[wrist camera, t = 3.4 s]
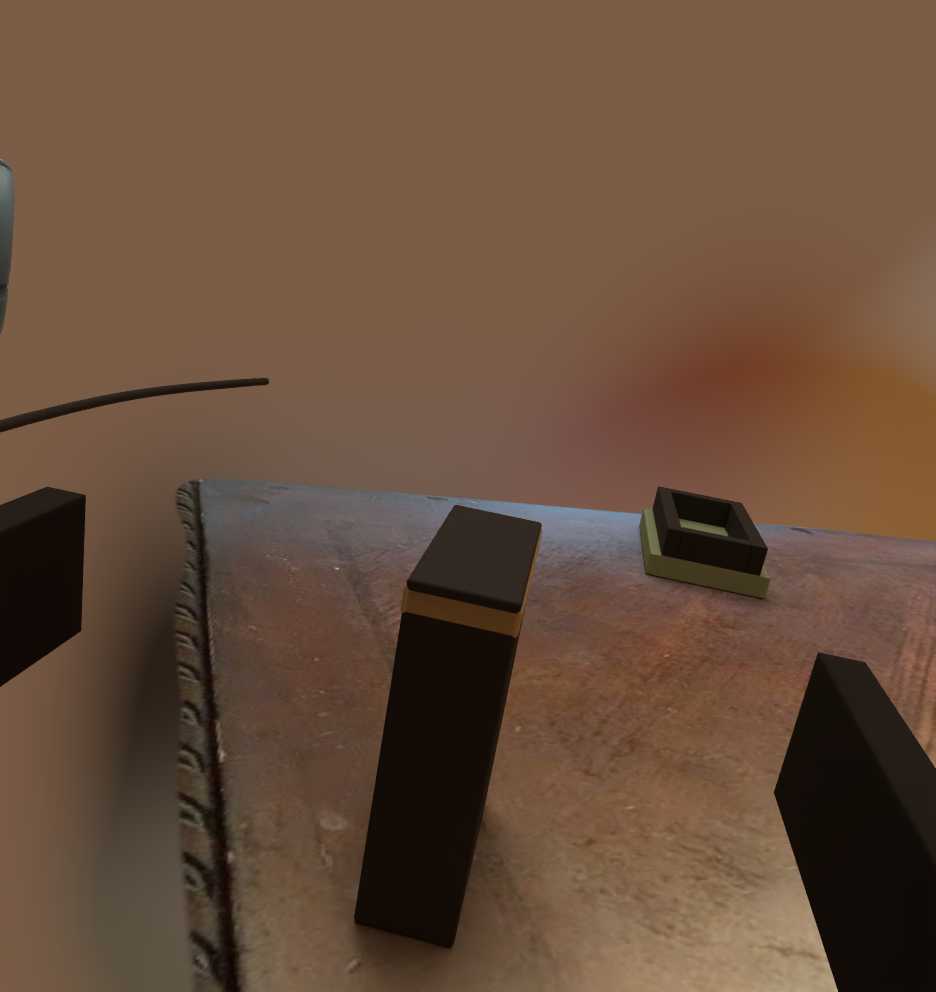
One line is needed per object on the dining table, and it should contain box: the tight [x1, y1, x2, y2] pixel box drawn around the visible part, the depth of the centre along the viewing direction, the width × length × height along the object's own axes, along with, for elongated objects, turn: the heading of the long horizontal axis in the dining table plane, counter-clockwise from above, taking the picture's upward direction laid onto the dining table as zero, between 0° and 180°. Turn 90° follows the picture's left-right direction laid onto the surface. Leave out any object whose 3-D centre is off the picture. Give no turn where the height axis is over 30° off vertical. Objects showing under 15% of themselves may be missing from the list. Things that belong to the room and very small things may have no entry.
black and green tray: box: [640, 487, 770, 599], centre depth 61 cm, size 11×8×4 cm
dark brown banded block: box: [354, 505, 542, 947], centre depth 26 cm, size 7×3×11 cm, turn 171°
